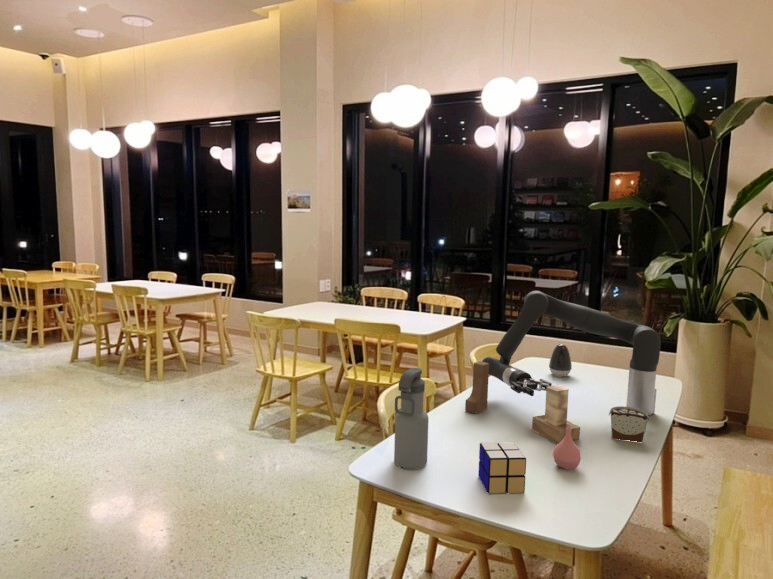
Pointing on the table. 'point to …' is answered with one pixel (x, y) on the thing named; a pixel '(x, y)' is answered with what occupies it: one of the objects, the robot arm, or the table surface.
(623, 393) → the table surface
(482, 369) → the wooden block
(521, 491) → the puzzle cube
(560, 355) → the grey egg shape
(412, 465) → the water bottle
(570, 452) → the pink vase
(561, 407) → the oak post
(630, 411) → the food container
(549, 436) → the base block
